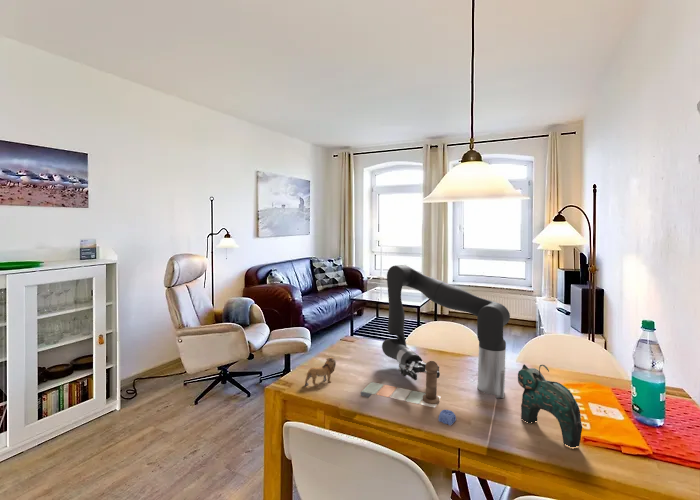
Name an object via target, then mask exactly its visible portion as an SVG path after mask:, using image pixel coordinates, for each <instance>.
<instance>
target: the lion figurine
mask: <svg viewBox="0 0 700 500" xmlns="http://www.w3.org/2000/svg"><path fill="white" fill-rule="evenodd" d="M336 364H337V362H336V359H335V357H333V356H332V357H331V356H330V357H327V358H326V360H325V362H324V364H323V365H322V366H319V367H316V366H313V367H311V368H310V369H309V370H308V372H307V373H306V378H305V381H304V388H305V387H307V386H309V382H308V381H309V380H310V379H311V378H312V381H311V382H312V384H313V385H314V387H318V386H319V385H318V383H316V379H317V377H322V378H323V379H322V380H323V381H324V382H326V381H327V382H328V383H332V380H331V376H332V374H333V373H334V372H335V369H336Z"/></svg>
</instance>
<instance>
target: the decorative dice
mask: <svg viewBox="0 0 700 500" xmlns="http://www.w3.org/2000/svg"><path fill="white" fill-rule="evenodd" d="M456 421H457V416H456V414H455V413H454V411H452V410H449V409H442V410H441V411H440V412H439V415H438V422H440V423H442V424H445V425H448V426H452V425H453V424H454V423H455V422H456Z"/></svg>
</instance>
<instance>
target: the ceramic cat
mask: <svg viewBox="0 0 700 500" xmlns="http://www.w3.org/2000/svg"><path fill="white" fill-rule="evenodd" d="M541 367H544V368H545V370H546V371H547V372H550V370H549V368H548V367H547V366H546V365H545V364H540V365H539V368H538V369H537V368H533V367H530V368H528V366H527V365H526V364H523V365H522V368H521V369H520V370H519V371H518V373H517V382H518V384H519V386H520V387H521V388H523V393H522V397H521V404H520V408H521V409H520V410H521V414H520V420H521V419H523V420H524V421H526V422H528V423H531V422H535V421H537V422H538V414H539V412H540V411H541V410H542V411H546V412H548V413H550V414H551V415H552V416H554V418H555V419H556V420H557V422H558V424H559V427H560V430H561V436H562V442H563V443H564V444H566V445H568V446H570V447H576V446H579V447H580V445H581V444H580V443H581V438H582V432H583V424H582V419H581V418H582V417H581V411H580V407H579V404H578V403H577V400H576V399H575V397H574V395H573V393H572V392H571V391H570V389H568V388H567V387H566V386H565V385H563V384H561V383H560V382H559V381H551V380H548V379H547V380H546V377H544V375H543V374H542V373H541ZM523 420H522V421H523ZM524 421H523V422H524ZM526 422H525V423H526ZM528 423H527V424H528ZM563 443H562V444H563Z"/></svg>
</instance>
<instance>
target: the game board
mask: <svg viewBox="0 0 700 500" xmlns="http://www.w3.org/2000/svg"><path fill="white" fill-rule="evenodd" d="M425 394H426V392H421V391H417V390H411V389H408V388H402V387H397V386H392V385H388V384H384V383H378V382H374V381H370V382H369V384H368V385H366V387H365V388H363V390H362V391H360V395H361V396H362V397H366V398H370V397H371V396H372V395H376V396H381V397H384V398H391V399H395V400H398V401H405V402H408V403H412V404H417V405H421V406H425V407H430V408H434V409H435V408H436V407H437V405H438V403H437V404H428V403H425V402H424V401H423V395H425ZM437 396H438V397H439V401H440V399H441V397H442V396H440V395H437Z"/></svg>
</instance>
